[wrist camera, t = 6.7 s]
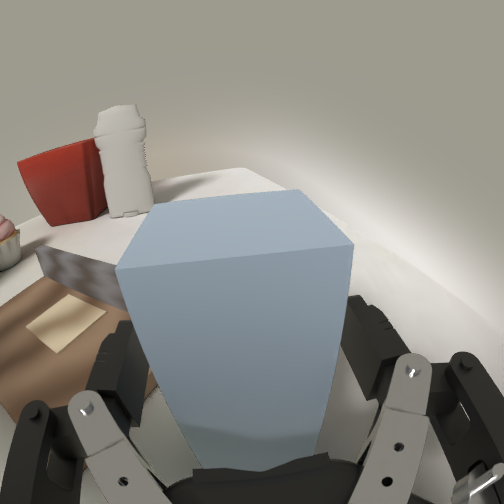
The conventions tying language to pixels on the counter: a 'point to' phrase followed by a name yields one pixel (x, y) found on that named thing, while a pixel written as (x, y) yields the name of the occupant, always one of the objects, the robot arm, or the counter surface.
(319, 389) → the carton
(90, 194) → the plant pot
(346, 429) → the counter surface
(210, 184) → the counter surface
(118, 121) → the tall pale column
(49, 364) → the shelf
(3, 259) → the cupcake
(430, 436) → the counter surface
